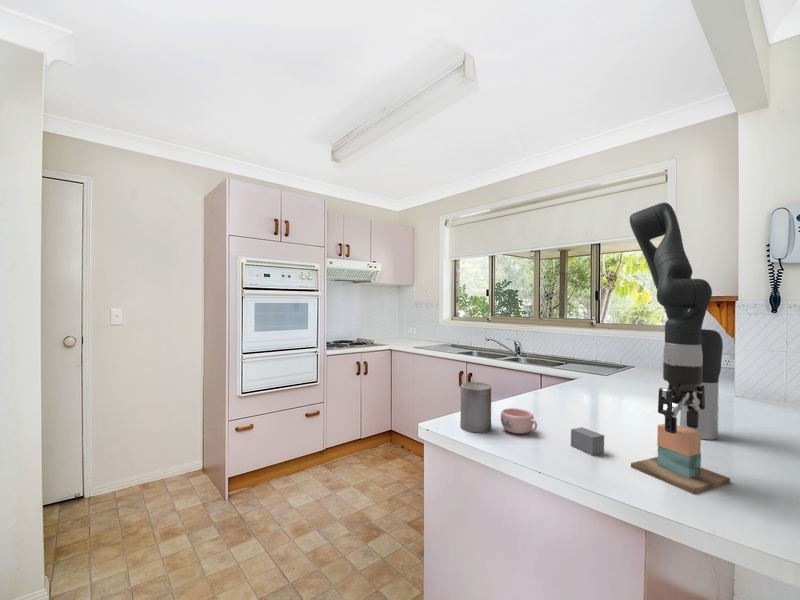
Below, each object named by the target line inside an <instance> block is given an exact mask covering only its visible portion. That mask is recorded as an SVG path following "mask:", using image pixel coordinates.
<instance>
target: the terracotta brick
mask: <svg viewBox="0 0 800 600" xmlns="http://www.w3.org/2000/svg"><path fill="white" fill-rule="evenodd" d="M656 441H657V443H656V445H657V447H658V446H660V447H663V448H666V449H669V450H672V451H675V452H677V453H680V454H683V455H686V456H693V455H697V454H700V453H701V443H702V442H701V432H698V431H695V430H691V429H688V428H684V427H681V426H680V425H677V432H676V433H674V434H673V433H669V432H666V431H665V423H663V424H657V440H656Z"/></svg>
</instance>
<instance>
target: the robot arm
mask: <svg viewBox="0 0 800 600" xmlns="http://www.w3.org/2000/svg"><path fill="white" fill-rule="evenodd" d="M677 217H678V216H677V214H676V212H675V210H674V209H673V207H672V205H671V204H669V203H668V202H661V203H658V204H655V205H651V206H649V207H646V208H644V209H640V210H638V211H636V212H634V213H631V214H630V216H629V225H630V227H631V229H632V234H633V235H634V237H635V239H636V242H637V244H638V245H639V248H640V251H641V252H642V254H643V257H644V258H645V261H646V263H647V266H648V269H649V271H650V274H651V277H652V281H653V283H654V286H655V289H656V301H657V302H658V304H660V306H661V307H663V308H664V311H665V314H666V317H667V320H666V321H665V324H664V346H663V347H664V348H663V353H662V355H663V357H662V358H663V359H662V362H663V363H662V369H663V370H662V371H663V372H662V378H663V380H664V381H665V382H667V384H668V386H667V388H666V387H665V388H663V387H659V389H658V398H657V399H658V401H657V402H658V403H657V404H658V405H657V413H658V414H660V415H663V416H664V424H665V431H666V432H669V433H673V434H674V433H676V432H677V424H678V422H677V421H678V418H677V416H678V413H679V412H680V416H679V417H680V421H679V423H680V425H679V426H681V427H684V428H688V429H691V430H695V431H698V432H701V439H703V440H709V441H710V440H717V439H718V436H719V378H720V374H721V372H722V359H723V350H724V349H723V348H724V347H723V345H724V344H723V343H724V342H723V338H722V335H721V334H720V332H718V331H717V330H713V329H705V328H703V323H704V319H705V316H706V313H707V310H708V308H709V306H710V303H711V299H712V297H713V291H712V290H713V289H712V287H711V285H710V283H709V282H708V281H707V280H705V279H702V278H692V276H693V268H692V266H691V263H690V260H689V258H688V256H687V254H686V252H685V248H684V243H683V238H682V233H681V229H680V224H679V221H678V218H677ZM662 236H663V238H662V240H661V241H660V243H659V245H658V246H657V247H656V246H655V245H654V244H653V242H652V241H651V240H653V239H656V238H660V237H662Z"/></svg>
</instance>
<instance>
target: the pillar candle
mask: <svg viewBox="0 0 800 600" xmlns="http://www.w3.org/2000/svg"><path fill="white" fill-rule="evenodd" d="M459 422H460V425H459V427H460V428H461V430H463V431H466V432H469V433H477V434H478V433H479V434H482V433H483V434H484V433H488V432H490V431H491V429H492V385H490V384H489V383H485V382H478V381H473V382H472V381H468V382H463V383H461V385H460V421H459Z"/></svg>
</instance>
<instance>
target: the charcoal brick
mask: <svg viewBox="0 0 800 600" xmlns="http://www.w3.org/2000/svg"><path fill="white" fill-rule="evenodd" d="M571 446H572V447H571ZM570 447H571V448H573V447H574V449H575V448H576V450H578V451H580V450H581V451H580V452H582V451H583V453H584V454H586V455H589V456H592V457H594V456H599V455H602V454H603V453H604V454H605V435H604V434H601V433H599V432H597V431H593V430H590V429H588V428H586V427H577V428H571V429H570ZM598 454H599V455H598ZM604 454H603V455H604Z"/></svg>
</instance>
